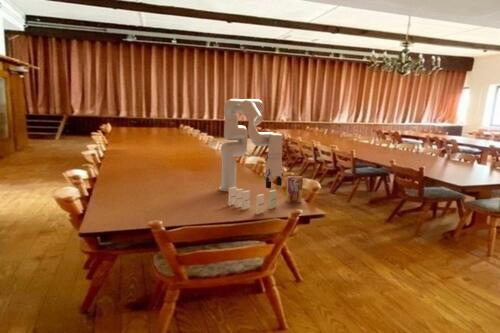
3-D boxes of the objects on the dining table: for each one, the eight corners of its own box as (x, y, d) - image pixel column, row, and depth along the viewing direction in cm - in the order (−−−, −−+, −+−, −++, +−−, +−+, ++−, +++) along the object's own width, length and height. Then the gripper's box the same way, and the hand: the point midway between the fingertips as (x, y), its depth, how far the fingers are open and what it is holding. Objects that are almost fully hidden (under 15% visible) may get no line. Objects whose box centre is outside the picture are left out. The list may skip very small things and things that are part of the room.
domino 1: (228, 205, 196) (228, 188, 194) (234, 203, 199) (234, 186, 197) (230, 205, 195) (230, 188, 193) (236, 204, 198) (236, 187, 196)
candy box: (299, 200, 211) (301, 176, 208) (301, 202, 207) (303, 177, 204) (285, 200, 210) (287, 175, 207) (287, 202, 206) (288, 177, 203)
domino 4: (255, 213, 183) (256, 195, 181) (261, 211, 187) (262, 193, 185) (257, 214, 182) (258, 196, 180) (263, 212, 186) (264, 194, 184)
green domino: (268, 208, 193) (268, 191, 191) (273, 206, 196) (274, 189, 194) (270, 209, 192) (271, 191, 190) (275, 207, 195) (276, 190, 193)
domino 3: (241, 209, 189) (241, 191, 187) (247, 207, 193) (248, 190, 191) (243, 210, 188) (244, 192, 186) (249, 208, 192) (250, 190, 190)
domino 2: (234, 207, 192) (235, 189, 191) (240, 205, 196) (241, 188, 194) (236, 207, 191) (237, 190, 189) (242, 206, 195) (243, 188, 193)
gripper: (278, 154, 197) (277, 183, 200) (259, 156, 184) (258, 188, 187) (289, 155, 192) (288, 185, 195) (270, 158, 179) (269, 190, 182)
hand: (273, 186), depth 191 cm, fingers open, 9 cm apart
